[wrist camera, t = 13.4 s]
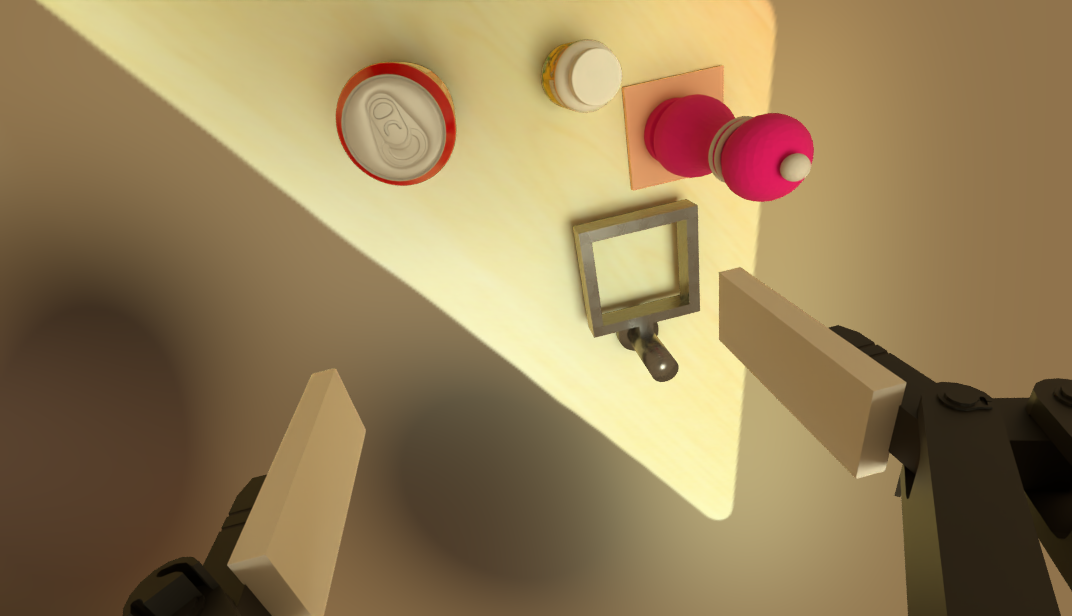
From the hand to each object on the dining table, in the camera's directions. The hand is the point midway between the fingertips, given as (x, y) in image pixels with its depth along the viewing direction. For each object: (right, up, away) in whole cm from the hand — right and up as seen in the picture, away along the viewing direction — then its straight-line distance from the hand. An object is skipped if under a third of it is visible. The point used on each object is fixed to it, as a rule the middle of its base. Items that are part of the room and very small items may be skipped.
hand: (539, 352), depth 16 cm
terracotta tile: (+14, +20, +32) cm, 40 cm away
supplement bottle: (+3, +23, +28) cm, 37 cm away
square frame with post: (+11, +5, +39) cm, 41 cm away
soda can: (-12, +20, +28) cm, 36 cm away
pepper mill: (+14, +19, +32) cm, 40 cm away
